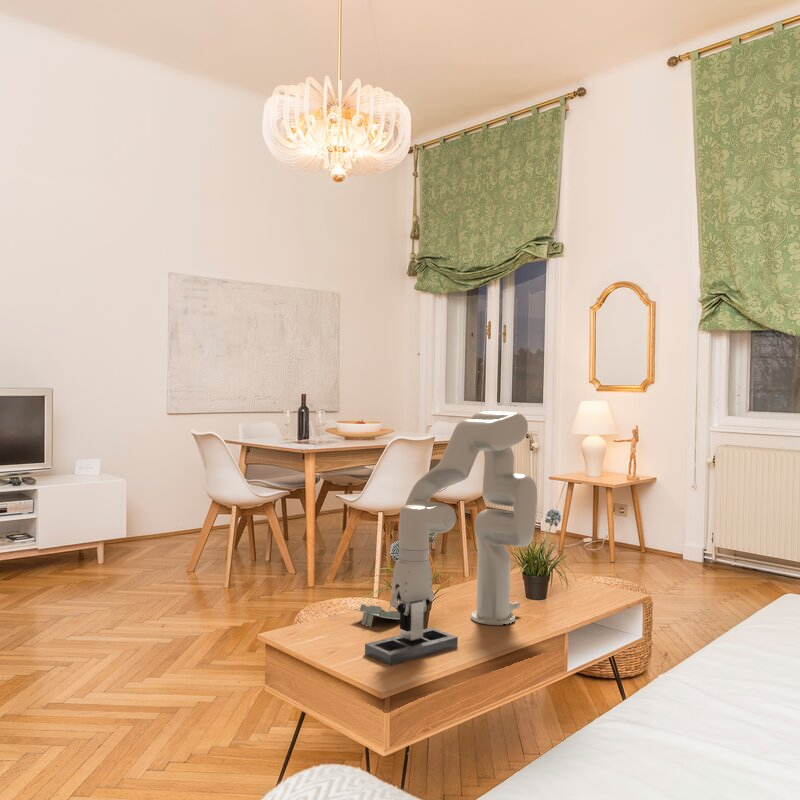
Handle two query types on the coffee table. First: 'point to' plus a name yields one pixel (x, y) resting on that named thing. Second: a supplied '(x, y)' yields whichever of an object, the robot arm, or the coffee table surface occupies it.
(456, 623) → the coffee table surface
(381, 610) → the metal bracket
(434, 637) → the compartment tray
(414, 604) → the steel peg
